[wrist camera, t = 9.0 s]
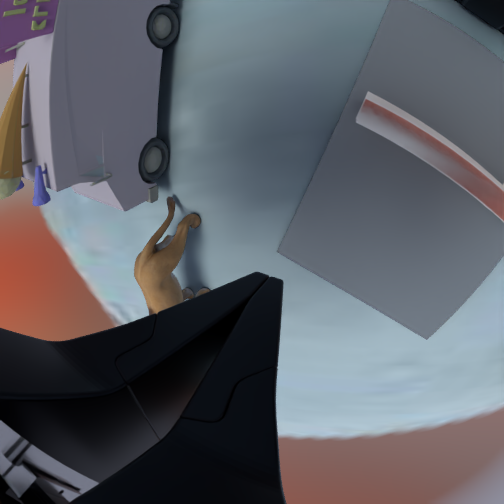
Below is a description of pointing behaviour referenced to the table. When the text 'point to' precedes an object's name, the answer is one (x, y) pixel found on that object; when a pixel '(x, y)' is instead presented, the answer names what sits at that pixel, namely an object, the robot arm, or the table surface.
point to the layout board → (408, 177)
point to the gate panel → (433, 153)
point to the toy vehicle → (84, 97)
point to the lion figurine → (164, 264)
